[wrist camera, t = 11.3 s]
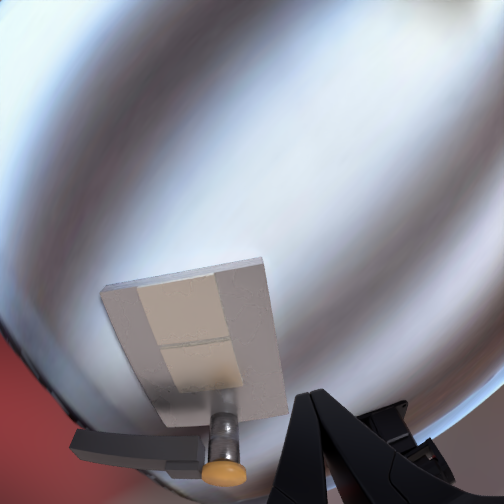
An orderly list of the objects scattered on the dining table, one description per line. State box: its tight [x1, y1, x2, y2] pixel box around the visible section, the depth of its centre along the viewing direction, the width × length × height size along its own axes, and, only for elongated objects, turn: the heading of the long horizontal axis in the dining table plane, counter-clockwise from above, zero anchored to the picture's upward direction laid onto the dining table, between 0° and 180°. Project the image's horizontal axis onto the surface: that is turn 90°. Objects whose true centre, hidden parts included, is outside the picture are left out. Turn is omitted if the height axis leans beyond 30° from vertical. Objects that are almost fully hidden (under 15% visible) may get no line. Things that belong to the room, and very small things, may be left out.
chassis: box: [100, 257, 289, 464], centre depth 18 cm, size 15×11×6 cm
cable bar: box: [69, 429, 246, 487], centre depth 17 cm, size 15×3×4 cm, turn 98°
